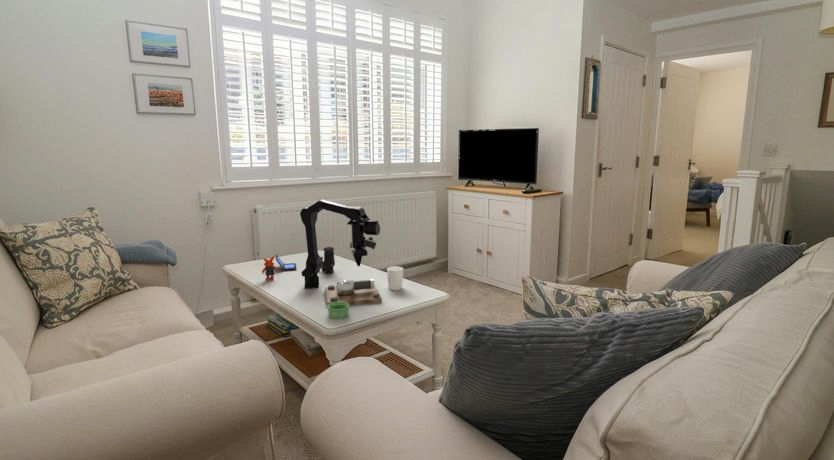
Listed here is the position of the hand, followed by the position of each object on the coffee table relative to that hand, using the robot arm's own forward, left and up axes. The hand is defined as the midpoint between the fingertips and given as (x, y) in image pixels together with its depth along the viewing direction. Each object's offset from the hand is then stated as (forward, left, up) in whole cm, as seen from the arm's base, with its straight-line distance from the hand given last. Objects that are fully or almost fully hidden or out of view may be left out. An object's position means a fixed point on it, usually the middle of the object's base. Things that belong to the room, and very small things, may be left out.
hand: (358, 266), depth 214 cm
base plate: (-4, -6, -13) cm, 15 cm away
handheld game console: (-35, +49, -13) cm, 62 cm away
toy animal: (-43, +30, -13) cm, 54 cm away
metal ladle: (-3, -7, -10) cm, 12 cm away
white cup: (+18, +1, -13) cm, 22 cm away
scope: (-12, +35, -13) cm, 39 cm away
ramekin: (-12, -27, -13) cm, 32 cm away
